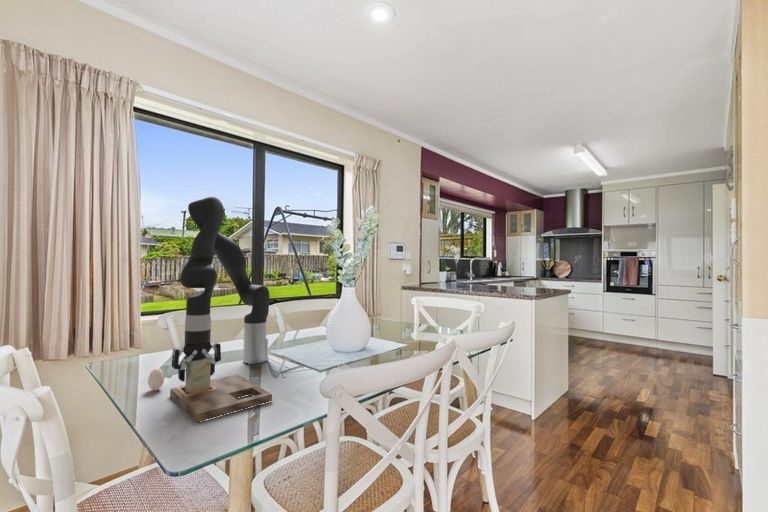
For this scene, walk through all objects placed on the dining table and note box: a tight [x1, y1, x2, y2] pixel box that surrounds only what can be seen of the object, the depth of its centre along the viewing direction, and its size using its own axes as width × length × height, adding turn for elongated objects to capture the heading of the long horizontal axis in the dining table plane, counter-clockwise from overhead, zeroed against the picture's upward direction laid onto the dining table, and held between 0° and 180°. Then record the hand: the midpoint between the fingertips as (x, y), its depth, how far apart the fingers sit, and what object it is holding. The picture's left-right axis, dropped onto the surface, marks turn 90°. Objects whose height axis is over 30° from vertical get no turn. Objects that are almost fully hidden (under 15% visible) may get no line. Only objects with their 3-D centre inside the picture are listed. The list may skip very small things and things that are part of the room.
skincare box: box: [185, 358, 211, 395], centre depth 119 cm, size 6×4×12 cm
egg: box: [147, 367, 165, 391], centre depth 124 cm, size 5×5×7 cm
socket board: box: [169, 373, 273, 423], centre depth 118 cm, size 22×26×3 cm
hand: (196, 377), depth 119 cm, fingers open, 8 cm apart
